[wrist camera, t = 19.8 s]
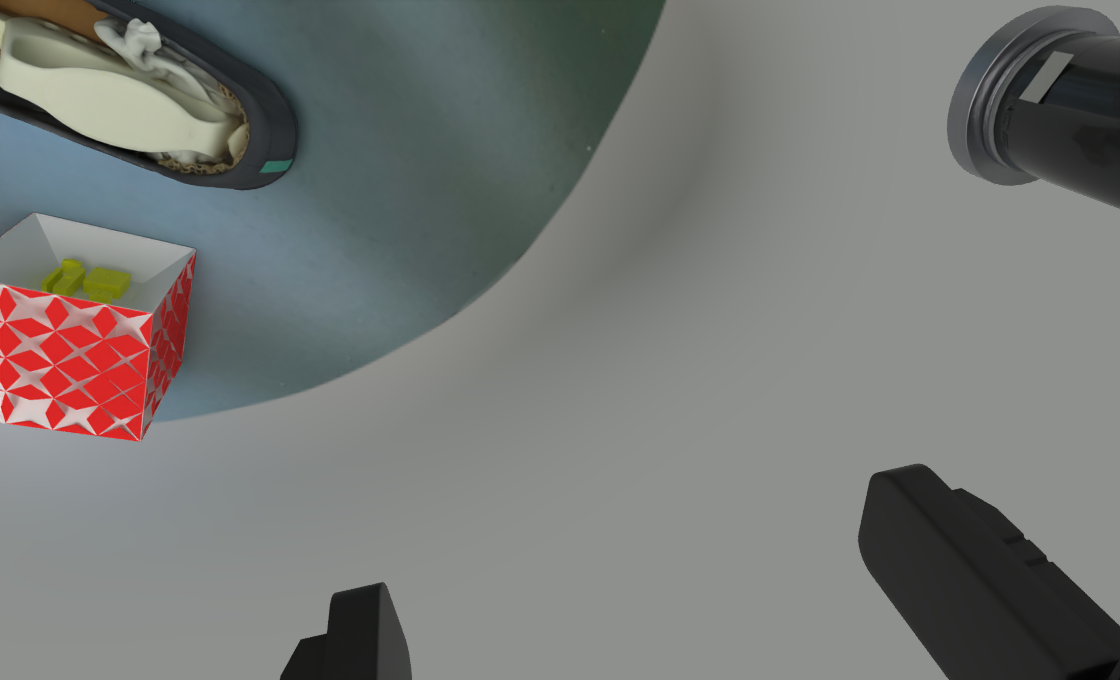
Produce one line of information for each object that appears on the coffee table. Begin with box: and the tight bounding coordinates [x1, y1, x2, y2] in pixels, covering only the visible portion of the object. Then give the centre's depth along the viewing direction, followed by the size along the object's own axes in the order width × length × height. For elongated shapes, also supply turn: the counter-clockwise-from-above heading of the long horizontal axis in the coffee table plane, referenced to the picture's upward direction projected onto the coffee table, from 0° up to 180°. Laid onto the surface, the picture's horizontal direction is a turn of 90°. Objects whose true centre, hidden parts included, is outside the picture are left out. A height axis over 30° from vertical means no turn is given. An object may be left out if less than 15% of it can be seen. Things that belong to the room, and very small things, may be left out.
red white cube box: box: [0, 212, 196, 441], centre depth 35 cm, size 8×8×8 cm
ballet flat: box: [0, 0, 298, 190], centre depth 28 cm, size 8×24×8 cm, turn 59°
